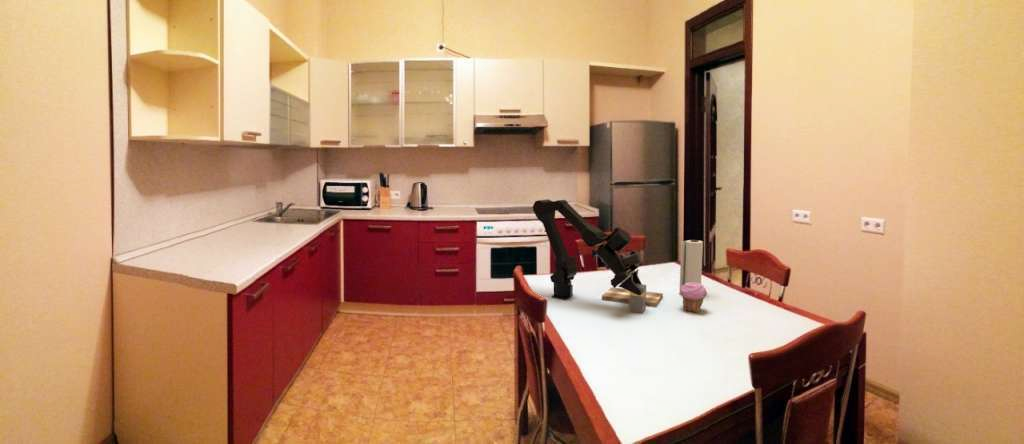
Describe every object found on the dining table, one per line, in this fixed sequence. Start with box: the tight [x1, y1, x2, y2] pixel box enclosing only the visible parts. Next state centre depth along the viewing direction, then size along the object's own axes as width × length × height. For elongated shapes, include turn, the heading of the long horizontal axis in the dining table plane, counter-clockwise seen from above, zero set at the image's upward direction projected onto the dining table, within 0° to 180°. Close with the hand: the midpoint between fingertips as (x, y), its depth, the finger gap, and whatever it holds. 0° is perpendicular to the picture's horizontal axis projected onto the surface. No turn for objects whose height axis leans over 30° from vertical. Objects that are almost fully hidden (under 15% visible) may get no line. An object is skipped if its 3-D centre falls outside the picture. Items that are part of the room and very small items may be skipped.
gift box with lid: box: [629, 283, 647, 314], centre depth 160 cm, size 5×5×9 cm
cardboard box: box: [601, 286, 664, 308], centre depth 174 cm, size 20×13×2 cm, turn 62°
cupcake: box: [679, 282, 708, 313], centre depth 160 cm, size 9×9×10 cm
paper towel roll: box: [678, 239, 704, 296], centre depth 177 cm, size 7×6×21 cm
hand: (642, 292), depth 159 cm, fingers closed on gift box with lid, 5 cm apart
